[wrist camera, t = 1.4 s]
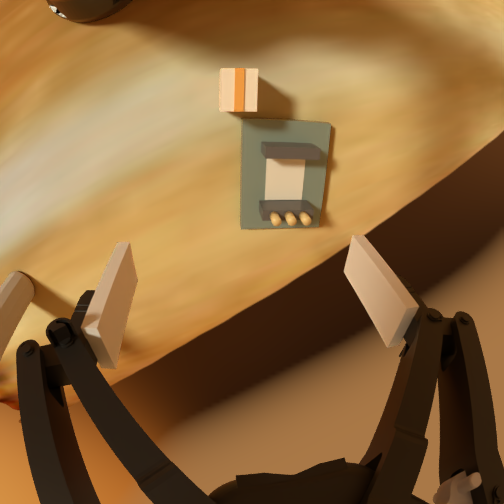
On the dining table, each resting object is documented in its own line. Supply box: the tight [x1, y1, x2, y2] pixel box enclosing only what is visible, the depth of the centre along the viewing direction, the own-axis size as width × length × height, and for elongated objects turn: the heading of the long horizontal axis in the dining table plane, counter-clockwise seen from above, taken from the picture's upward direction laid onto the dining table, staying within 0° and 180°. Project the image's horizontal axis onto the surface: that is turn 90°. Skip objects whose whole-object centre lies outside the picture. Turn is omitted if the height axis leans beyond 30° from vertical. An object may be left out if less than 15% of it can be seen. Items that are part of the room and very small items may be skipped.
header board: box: [240, 118, 331, 229], centre depth 38 cm, size 16×12×7 cm
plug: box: [219, 68, 258, 112], centre depth 31 cm, size 5×4×7 cm
